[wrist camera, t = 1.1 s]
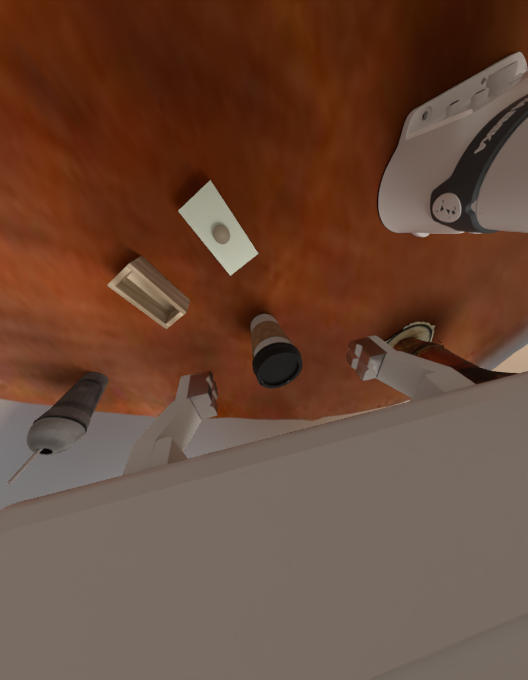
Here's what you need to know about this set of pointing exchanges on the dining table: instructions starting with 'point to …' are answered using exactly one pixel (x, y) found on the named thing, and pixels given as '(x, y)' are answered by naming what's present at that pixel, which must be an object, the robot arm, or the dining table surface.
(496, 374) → the decorative vase
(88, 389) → the beverage cup
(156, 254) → the dining table surface
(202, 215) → the lid
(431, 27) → the dining table surface
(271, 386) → the coffee cup
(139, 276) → the box base
